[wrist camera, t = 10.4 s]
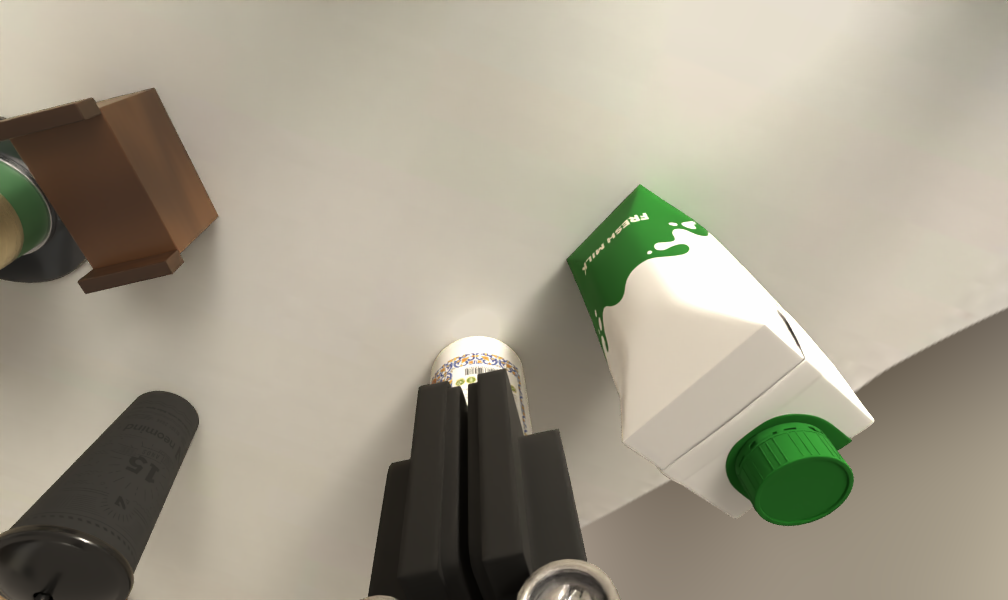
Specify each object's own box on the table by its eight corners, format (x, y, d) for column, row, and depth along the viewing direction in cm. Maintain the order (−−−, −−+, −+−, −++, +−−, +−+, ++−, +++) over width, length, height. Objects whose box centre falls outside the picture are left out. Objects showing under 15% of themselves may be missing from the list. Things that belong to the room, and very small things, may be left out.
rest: (67, 99, 33) (-27, 128, 27) (150, 78, 33) (75, 103, 26) (149, 240, 37) (85, 294, 31) (222, 223, 37) (172, 274, 31)
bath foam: (418, 346, 42) (386, 604, 25) (509, 322, 42) (541, 569, 24) (447, 415, 46) (436, 686, 28) (532, 394, 45) (574, 657, 28)
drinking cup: (194, 466, 47) (33, 757, 29) (97, 425, 44) (-142, 718, 27) (235, 406, 44) (86, 687, 27) (134, 358, 41) (-104, 636, 24)
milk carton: (635, 329, 43) (751, 572, 25) (545, 259, 39) (609, 483, 22) (727, 244, 40) (931, 454, 22) (639, 161, 36) (797, 332, 19)
